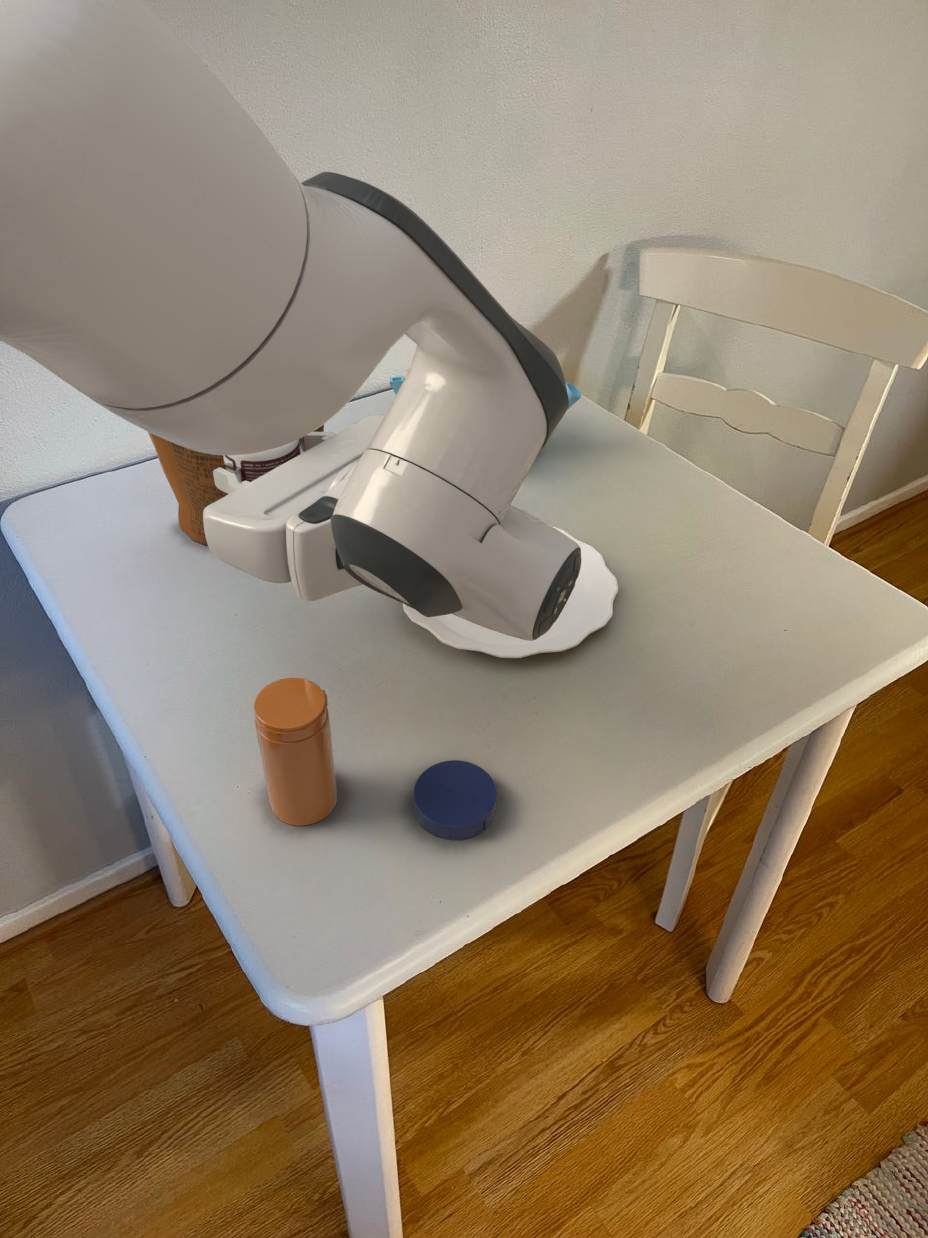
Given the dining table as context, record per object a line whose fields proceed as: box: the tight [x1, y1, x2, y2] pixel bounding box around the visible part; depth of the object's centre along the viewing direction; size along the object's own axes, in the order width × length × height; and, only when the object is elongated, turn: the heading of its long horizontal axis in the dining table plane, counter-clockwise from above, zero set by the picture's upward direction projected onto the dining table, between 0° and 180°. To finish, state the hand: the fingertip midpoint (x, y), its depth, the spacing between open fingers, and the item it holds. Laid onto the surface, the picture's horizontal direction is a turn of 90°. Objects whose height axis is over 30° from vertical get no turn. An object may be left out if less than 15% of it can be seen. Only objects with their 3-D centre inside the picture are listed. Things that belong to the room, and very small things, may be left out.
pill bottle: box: [223, 439, 301, 482], centre depth 74 cm, size 6×6×11 cm
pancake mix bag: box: [147, 424, 325, 546], centre depth 83 cm, size 7×19×28 cm, turn 84°
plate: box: [402, 525, 619, 659], centre depth 86 cm, size 21×21×2 cm
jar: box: [253, 677, 338, 827], centre depth 64 cm, size 5×5×10 cm
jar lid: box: [413, 759, 498, 841], centre depth 67 cm, size 6×6×2 cm
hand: (254, 455), depth 74 cm, fingers closed on pill bottle, 6 cm apart
